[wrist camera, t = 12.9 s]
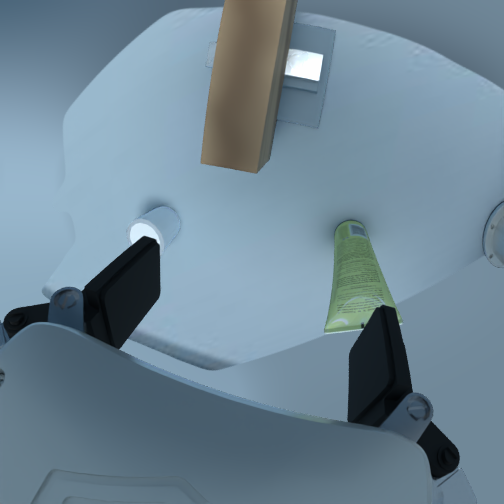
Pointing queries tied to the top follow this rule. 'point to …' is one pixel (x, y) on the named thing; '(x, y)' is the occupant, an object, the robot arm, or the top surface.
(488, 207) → the top surface
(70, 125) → the top surface
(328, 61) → the stand
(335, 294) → the tube
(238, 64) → the walnut bar
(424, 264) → the top surface
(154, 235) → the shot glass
